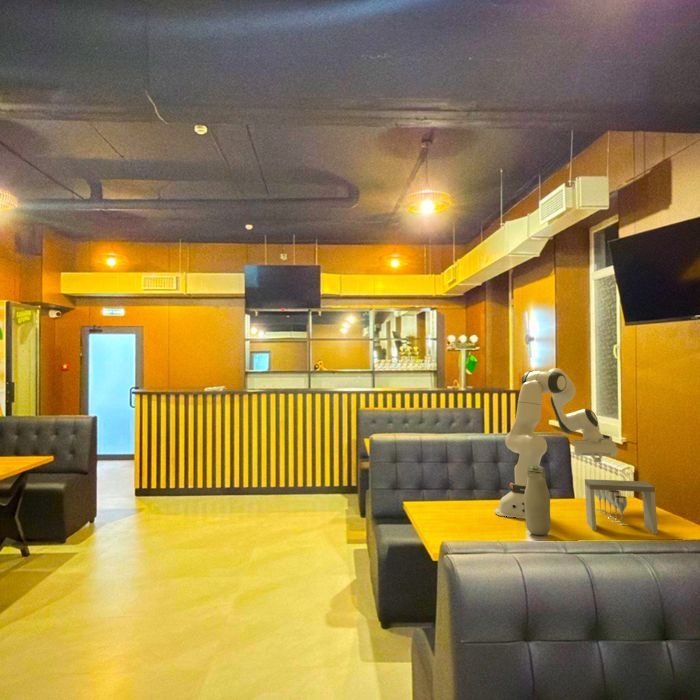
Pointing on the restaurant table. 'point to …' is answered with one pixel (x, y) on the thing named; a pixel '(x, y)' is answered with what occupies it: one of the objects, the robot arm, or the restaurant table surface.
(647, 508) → the low table
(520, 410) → the robot arm
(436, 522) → the restaurant table surface
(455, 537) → the restaurant table surface
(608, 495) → the goblet set
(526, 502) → the grey bottle
